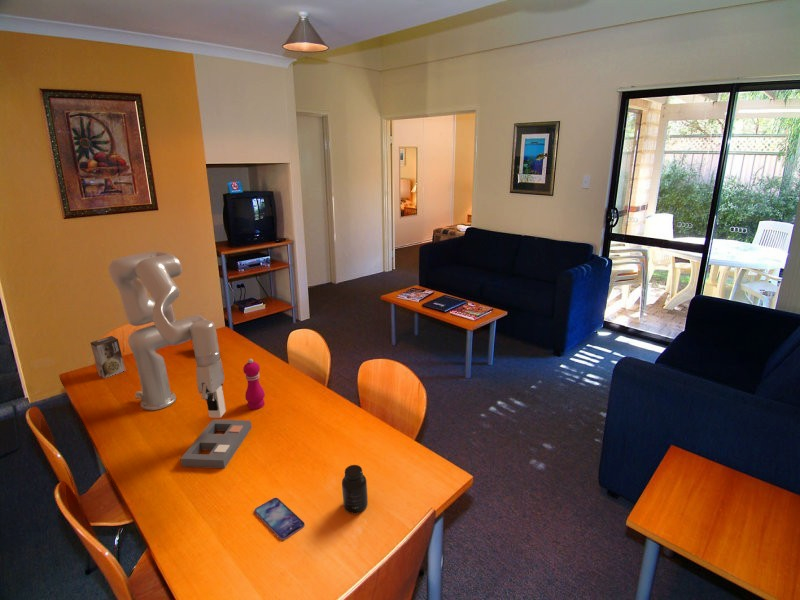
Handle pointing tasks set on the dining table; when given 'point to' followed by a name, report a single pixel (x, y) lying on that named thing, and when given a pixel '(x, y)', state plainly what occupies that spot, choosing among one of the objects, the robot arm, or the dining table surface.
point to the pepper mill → (253, 385)
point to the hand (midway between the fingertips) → (216, 405)
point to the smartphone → (279, 518)
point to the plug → (218, 403)
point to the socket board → (217, 444)
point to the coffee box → (108, 356)
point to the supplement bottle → (354, 490)
